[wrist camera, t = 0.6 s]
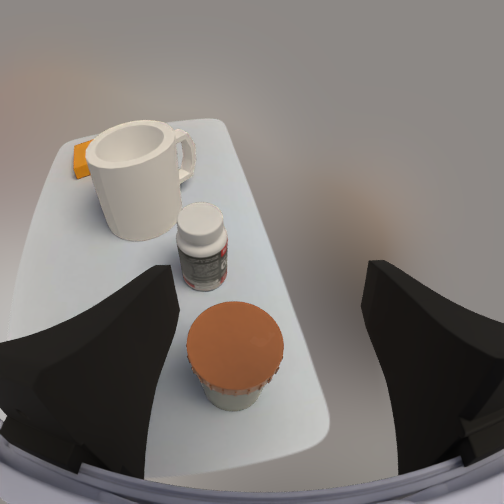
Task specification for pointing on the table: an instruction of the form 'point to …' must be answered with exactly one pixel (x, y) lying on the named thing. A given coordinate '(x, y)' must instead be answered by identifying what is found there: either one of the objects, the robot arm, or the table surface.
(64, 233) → the table surface
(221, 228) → the pill bottle
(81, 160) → the orange square slab
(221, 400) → the jar
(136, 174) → the mug
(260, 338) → the lid
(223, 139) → the table surface
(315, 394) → the table surface
